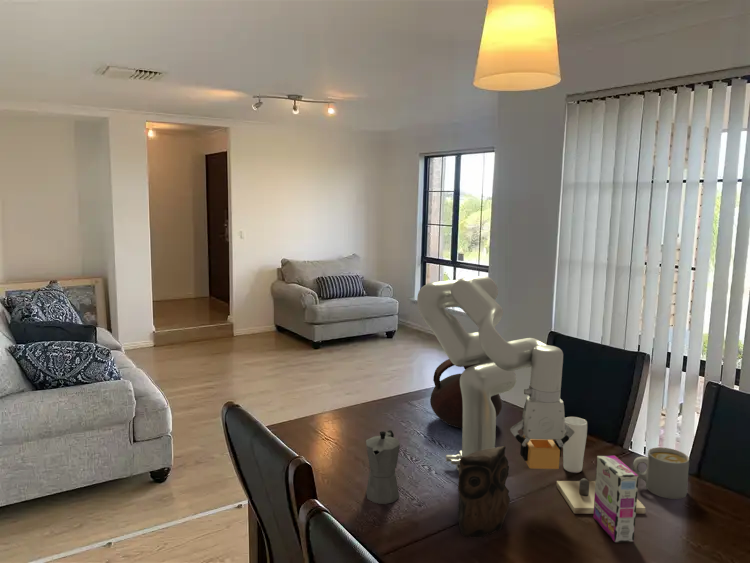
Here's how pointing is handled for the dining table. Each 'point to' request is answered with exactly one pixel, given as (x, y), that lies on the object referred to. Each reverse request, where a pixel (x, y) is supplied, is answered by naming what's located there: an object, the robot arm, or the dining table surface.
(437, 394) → the jug
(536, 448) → the small open box
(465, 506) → the owl
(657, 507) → the dining table surface
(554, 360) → the robot arm
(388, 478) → the coffeepot
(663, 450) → the coffee mug
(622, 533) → the candy bar box
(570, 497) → the board
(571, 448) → the drinking glass
